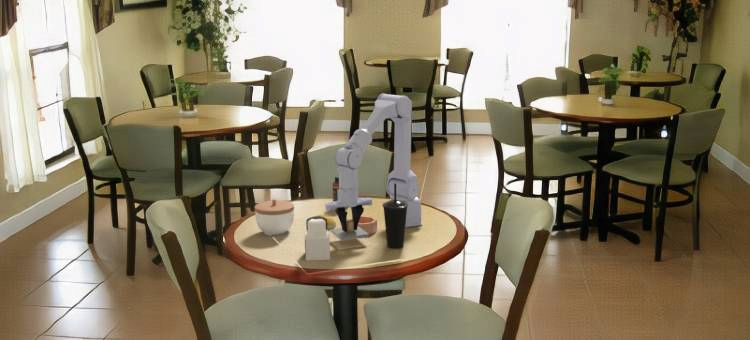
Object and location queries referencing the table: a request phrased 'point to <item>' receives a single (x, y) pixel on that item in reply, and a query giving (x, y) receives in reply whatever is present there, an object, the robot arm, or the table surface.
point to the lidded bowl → (274, 216)
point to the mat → (349, 243)
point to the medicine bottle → (317, 239)
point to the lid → (349, 231)
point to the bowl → (368, 224)
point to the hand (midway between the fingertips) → (349, 230)
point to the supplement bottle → (336, 189)
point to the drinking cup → (395, 221)
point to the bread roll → (329, 222)
